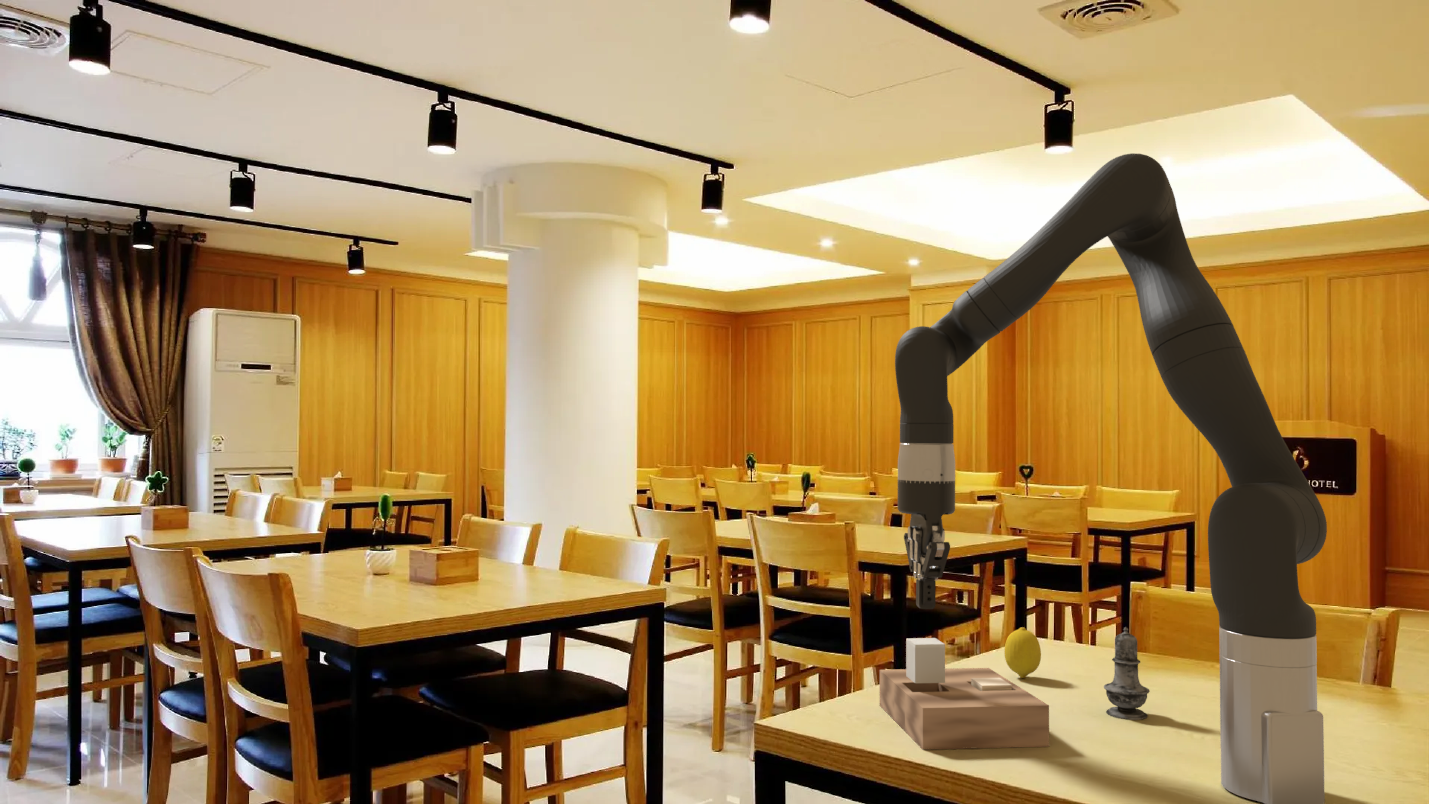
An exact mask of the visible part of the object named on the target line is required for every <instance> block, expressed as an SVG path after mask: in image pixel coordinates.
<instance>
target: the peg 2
mask: <svg viewBox="0 0 1429 804" xmlns="http://www.w3.org/2000/svg"><path fill="white" fill-rule="evenodd" d="M971 685H972V686H974V687H975V688H976V689H978V690H979V691H999V690H1012V685H1011V684H1009V683H1008V682H1006V681H1004V680H1003V679H1001V678H971Z"/></svg>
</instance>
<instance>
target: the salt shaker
mask: <svg viewBox="0 0 1429 804" xmlns="http://www.w3.org/2000/svg"><path fill="white" fill-rule="evenodd" d="M1122 630H1123V632H1122V633H1119V634H1117V635H1116V636H1115V637H1114V657H1113V658H1112V659H1111V661H1113V662H1114V674H1113V675H1114V676H1113V678H1112V681H1111V682H1110V683H1109V682H1108V683H1106V684H1104V685H1103V689H1104V690H1105V691H1106V693H1105V694H1106V697H1107V699H1108V701H1109V702H1110V703H1111V704H1112V705H1114V706H1112V707H1110V708H1108V709H1106V711H1105V713H1106V714H1107V715H1108V716H1110V717H1113V718H1116V719H1122V720H1131V721H1138V720H1145V719H1147V718H1148V717H1149V716H1148V714H1147V713H1146V712H1145V711H1144V710H1141V709H1139V708H1141V707H1142V706H1143V705H1144V704H1146V701H1147V699H1148V694H1149V693H1150V689H1149V688H1148V687H1146V686H1144V685H1142V683H1141V682H1140V678H1139V664H1140V663H1141V660H1140V659H1138V640H1137V637H1136V636H1135V635H1133V634H1131V633H1130V632H1129V628H1128V627H1127V626H1125V627H1123V629H1122Z"/></svg>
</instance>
